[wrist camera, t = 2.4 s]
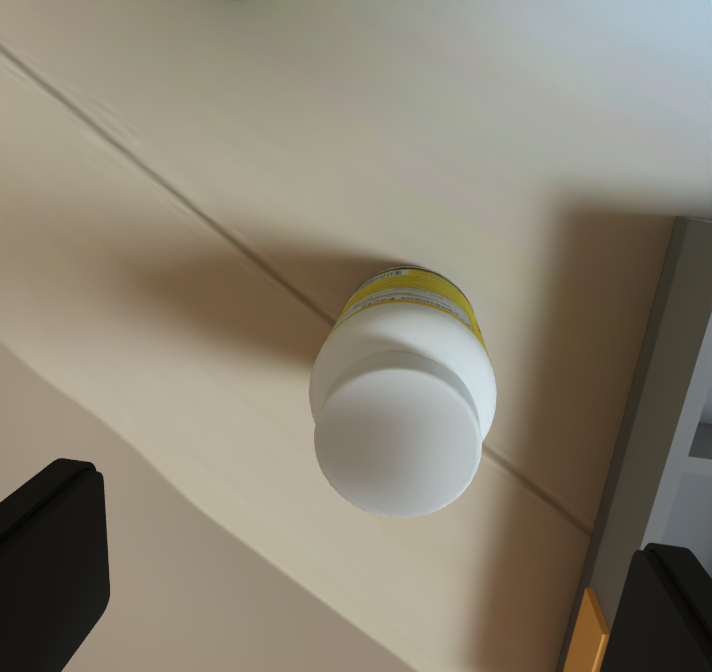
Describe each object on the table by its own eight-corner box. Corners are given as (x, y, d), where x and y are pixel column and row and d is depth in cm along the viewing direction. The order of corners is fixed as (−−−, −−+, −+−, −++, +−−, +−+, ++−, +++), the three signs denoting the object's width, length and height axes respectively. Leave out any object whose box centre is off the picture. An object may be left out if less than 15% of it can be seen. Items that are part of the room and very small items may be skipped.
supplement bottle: (445, 409, 23) (454, 576, 13) (325, 362, 23) (253, 495, 14) (499, 292, 21) (554, 393, 12) (370, 242, 21) (322, 302, 12)
